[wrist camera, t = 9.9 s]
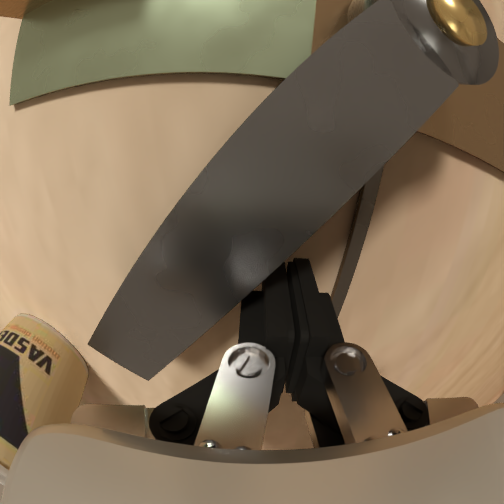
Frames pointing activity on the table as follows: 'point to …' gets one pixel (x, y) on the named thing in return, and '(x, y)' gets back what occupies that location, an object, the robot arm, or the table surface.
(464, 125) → the plate
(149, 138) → the table surface
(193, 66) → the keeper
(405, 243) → the table surface
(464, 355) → the table surface
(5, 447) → the coffee cup
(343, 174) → the swing bar
